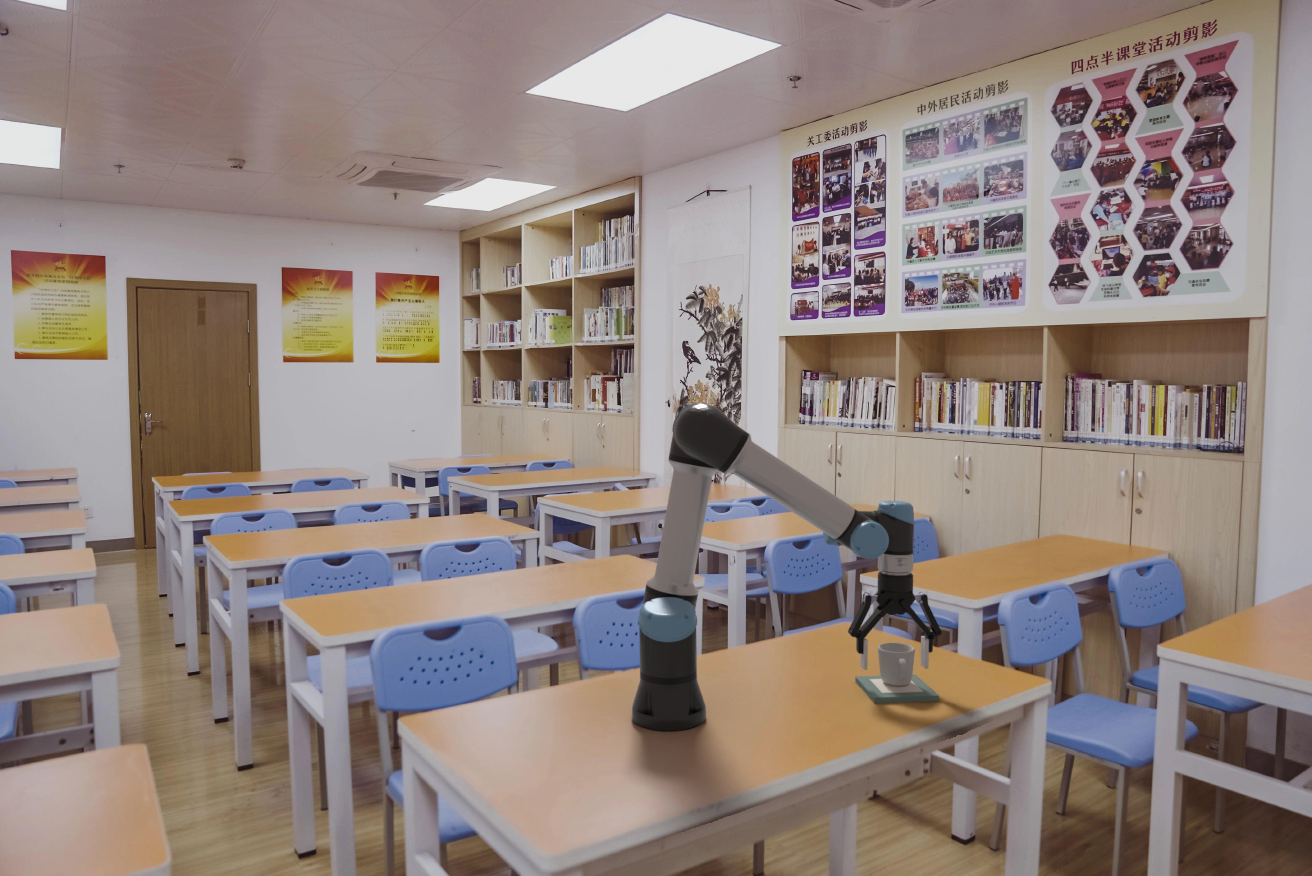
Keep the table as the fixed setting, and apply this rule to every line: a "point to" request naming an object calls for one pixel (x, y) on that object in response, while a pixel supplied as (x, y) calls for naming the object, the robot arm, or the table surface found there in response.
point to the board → (896, 690)
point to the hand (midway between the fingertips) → (894, 667)
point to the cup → (896, 663)
